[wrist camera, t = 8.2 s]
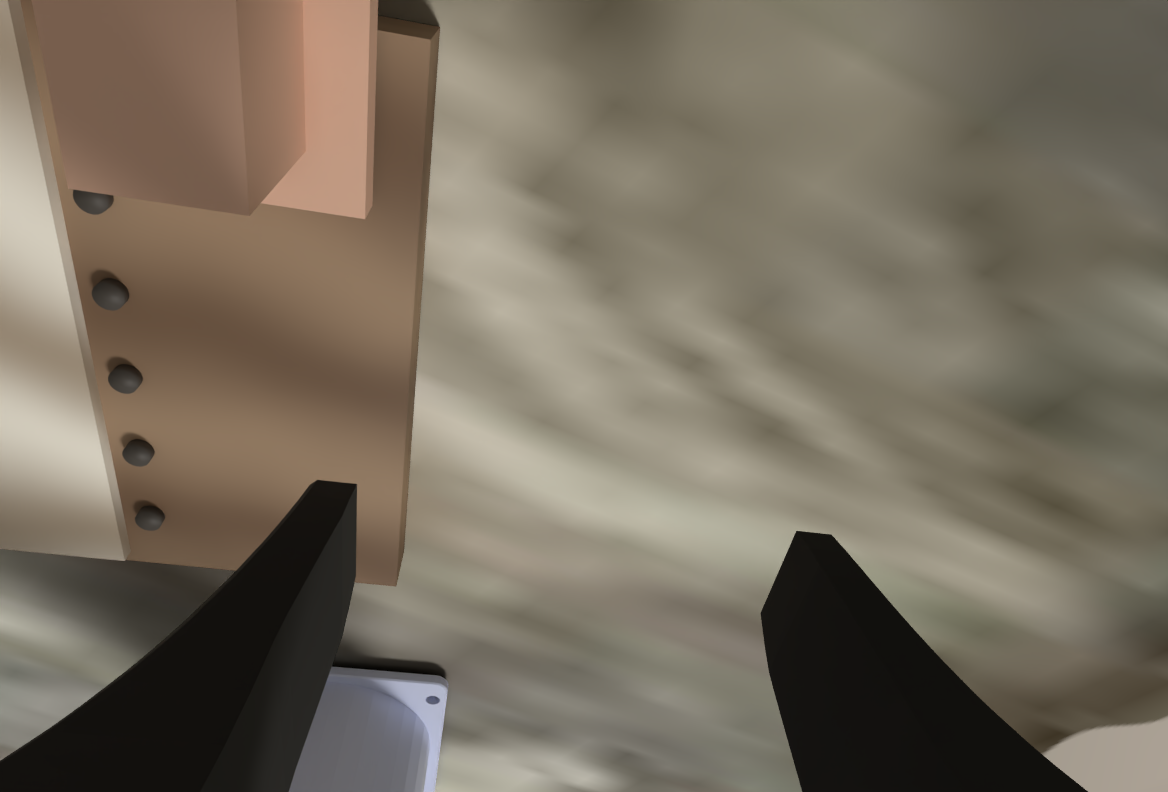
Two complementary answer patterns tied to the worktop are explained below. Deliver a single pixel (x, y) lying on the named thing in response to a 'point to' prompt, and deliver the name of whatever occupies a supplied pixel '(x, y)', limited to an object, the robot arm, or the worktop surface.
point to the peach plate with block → (215, 100)
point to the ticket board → (205, 342)
